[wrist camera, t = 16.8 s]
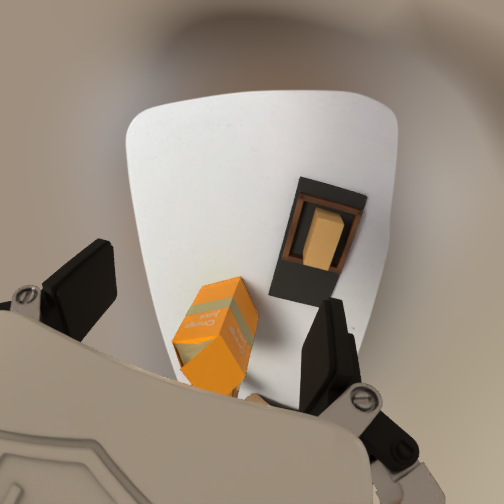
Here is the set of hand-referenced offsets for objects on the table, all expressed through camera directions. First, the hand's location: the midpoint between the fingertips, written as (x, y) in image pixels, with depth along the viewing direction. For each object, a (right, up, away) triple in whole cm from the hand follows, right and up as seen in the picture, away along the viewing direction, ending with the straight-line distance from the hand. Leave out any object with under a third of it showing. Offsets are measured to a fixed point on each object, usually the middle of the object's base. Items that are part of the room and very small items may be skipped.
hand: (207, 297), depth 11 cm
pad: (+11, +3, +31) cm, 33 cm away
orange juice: (-2, -7, +38) cm, 39 cm away
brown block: (+12, +5, +29) cm, 32 cm away
